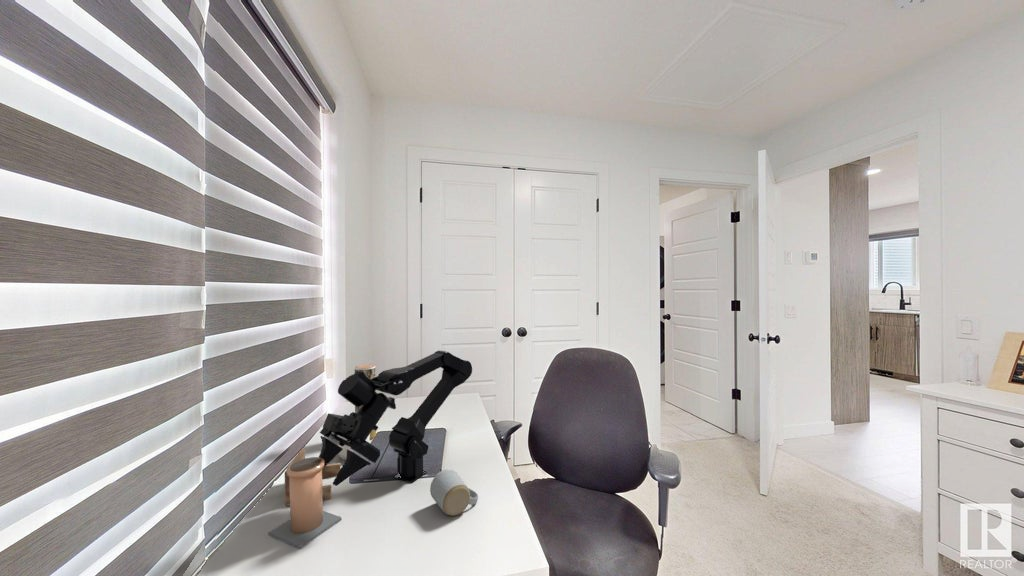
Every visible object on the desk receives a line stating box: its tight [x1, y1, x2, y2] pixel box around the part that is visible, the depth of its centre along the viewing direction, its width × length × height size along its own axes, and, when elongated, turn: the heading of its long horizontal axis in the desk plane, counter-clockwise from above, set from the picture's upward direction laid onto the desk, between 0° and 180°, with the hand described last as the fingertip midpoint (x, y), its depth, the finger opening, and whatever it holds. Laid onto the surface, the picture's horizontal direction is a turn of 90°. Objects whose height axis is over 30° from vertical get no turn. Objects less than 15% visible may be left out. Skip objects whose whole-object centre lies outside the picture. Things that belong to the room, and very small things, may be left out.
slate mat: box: [267, 510, 342, 550], centre depth 80 cm, size 10×10×1 cm
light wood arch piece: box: [284, 448, 342, 506], centre depth 96 cm, size 10×13×8 cm
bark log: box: [354, 363, 377, 440], centre depth 128 cm, size 7×7×25 cm
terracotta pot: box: [286, 456, 324, 534], centre depth 80 cm, size 7×7×13 cm
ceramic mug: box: [429, 468, 479, 517], centre depth 87 cm, size 11×8×8 cm
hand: (324, 478), depth 83 cm, fingers open, 9 cm apart
